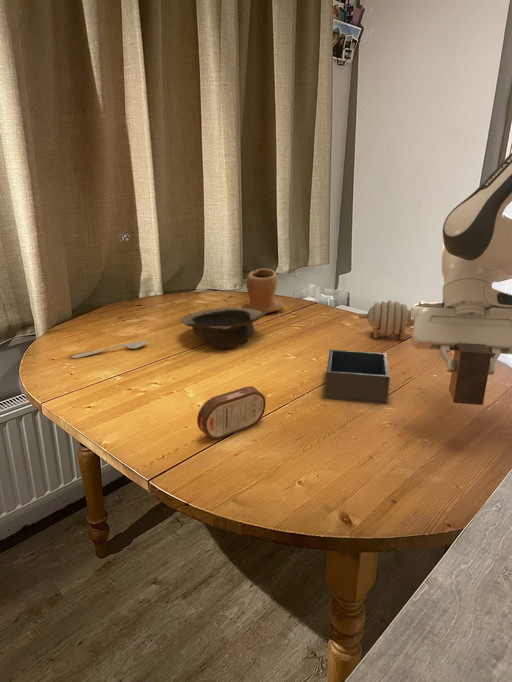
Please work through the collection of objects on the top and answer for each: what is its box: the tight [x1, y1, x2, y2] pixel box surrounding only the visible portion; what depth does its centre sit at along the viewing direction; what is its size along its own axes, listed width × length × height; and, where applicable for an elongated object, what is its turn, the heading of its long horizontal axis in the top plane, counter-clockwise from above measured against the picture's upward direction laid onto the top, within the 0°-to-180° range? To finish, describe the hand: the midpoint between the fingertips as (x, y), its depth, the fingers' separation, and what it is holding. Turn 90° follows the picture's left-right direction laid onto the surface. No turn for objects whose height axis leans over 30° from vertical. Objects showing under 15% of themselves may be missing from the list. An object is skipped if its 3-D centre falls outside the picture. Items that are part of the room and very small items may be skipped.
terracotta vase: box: [240, 267, 285, 314], centre depth 169 cm, size 15×12×15 cm
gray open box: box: [324, 349, 390, 405], centre depth 117 cm, size 14×14×7 cm
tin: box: [196, 385, 267, 439], centre depth 99 cm, size 15×3×8 cm, turn 126°
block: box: [448, 343, 492, 406], centre depth 90 cm, size 5×5×10 cm
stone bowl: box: [180, 307, 268, 350], centre depth 147 cm, size 25×25×9 cm
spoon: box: [71, 340, 148, 359], centre depth 138 cm, size 4×21×2 cm, turn 114°
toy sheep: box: [358, 299, 414, 341], centre depth 148 cm, size 11×17×11 cm, turn 84°
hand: (470, 372), depth 89 cm, fingers closed on block, 5 cm apart
